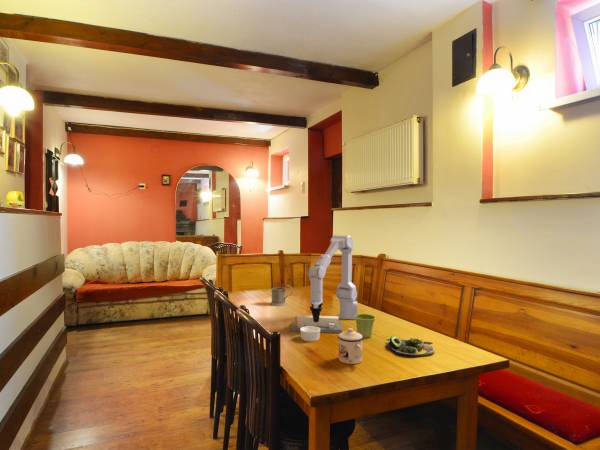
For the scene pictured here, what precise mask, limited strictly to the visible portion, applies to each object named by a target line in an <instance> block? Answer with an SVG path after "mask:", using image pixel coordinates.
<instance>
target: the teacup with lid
mask: <svg viewBox="0 0 600 450" xmlns="http://www.w3.org/2000/svg"><path fill="white" fill-rule="evenodd" d="M337 338H338V360H339V361H340V362H341V363H344V364H346V365H357V364H359V363H360V364H361V362H362V361H363V353H364V351H363V340H364V338H363V336H362V335H361V334H359V333H357V331H355V330H354V328H353V327H352V328H351V327H349V328H347V330H345V331H342V333H338V336H337Z"/></svg>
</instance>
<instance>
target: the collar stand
mask: <svg viewBox="0 0 600 450" xmlns="http://www.w3.org/2000/svg"><path fill="white" fill-rule="evenodd" d="M342 325H343V324H342V322H339V323H338V327H334V323H329V327H323V326H315V327H319V328H320V333H326V334H327V333H330V334H331V333H333V334H340V333H342V332H343V328H342V327H343V326H342ZM302 327H305V326H303V322H298V326H294V320H292V322H291V324H290V326H289V332H293V331H294V332H297V333H299V332H300V333H301V331H300V328H302Z"/></svg>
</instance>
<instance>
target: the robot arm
mask: <svg viewBox="0 0 600 450" xmlns="http://www.w3.org/2000/svg"><path fill="white" fill-rule="evenodd" d="M338 250H339V251H340V253H341V281H340V283H339V284H337V289H336V292H335V293H336V294H335V295H336V298H337V299H338V301H339V314H338V317H339V320H355V317H354V316H355V315H357V314H359V311H358V300H356V299H357V297H358V292H357V286H356V285H355V284H354V283H353V282H352V280H353V279H352V278H353V277H352V276H353V275H352V273H353V272H352V271H353V269H352V267H353V262H352V261H353V260H352V259H353V250H354V239H353V237H352V236H351V235H345V234H344V235H341V234H333V236H332V237H331V238H330V245H329V246H328V247H327V250H326V251H325V253H324V254H321V255H320V256H319V257H318V259H317V260H316V262H315V264H314V265H311V266H310V267H309V268H308V271H307V275H308V277H309V281H310V299H307V302H308V303H310V305H311V306H309V309H310V312H311V313H312V314H311V315H313V321H314V322H318V321H319V316H321V312H322V309H323V307H322V306H323V302H324V301H323V297H324V296H323V288H324V287H323V286H324V285H323V281H324V280H323V279H324V277H325V276H326V272H327V269H328V267H329V265H330V264H331V262H332V257H333V256H334V255H335V253H337V251H338Z"/></svg>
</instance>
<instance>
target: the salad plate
mask: <svg viewBox="0 0 600 450" xmlns="http://www.w3.org/2000/svg"><path fill="white" fill-rule="evenodd" d="M433 343H434V342H432V341H431V342H430V341H423V338H422V339H419V338H412V337H410V338H409V339H408V338H407V339H401V338H400V337H398V336H397V335H391V336H390V338H387V339H386V343H385V344H386V347H387V349H388V350H390V352H392V353H393V354H395V355H397V356H400V357H405V358H417V357H425V356H428V355H429V356H430V355H432V354H434V353H435V351H436V350H435V348H433V347H431V346H430V345H433ZM422 349H423V350H422ZM418 350H419V351H424V350H425V353H419V351H418ZM426 351H427V352H426Z"/></svg>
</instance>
